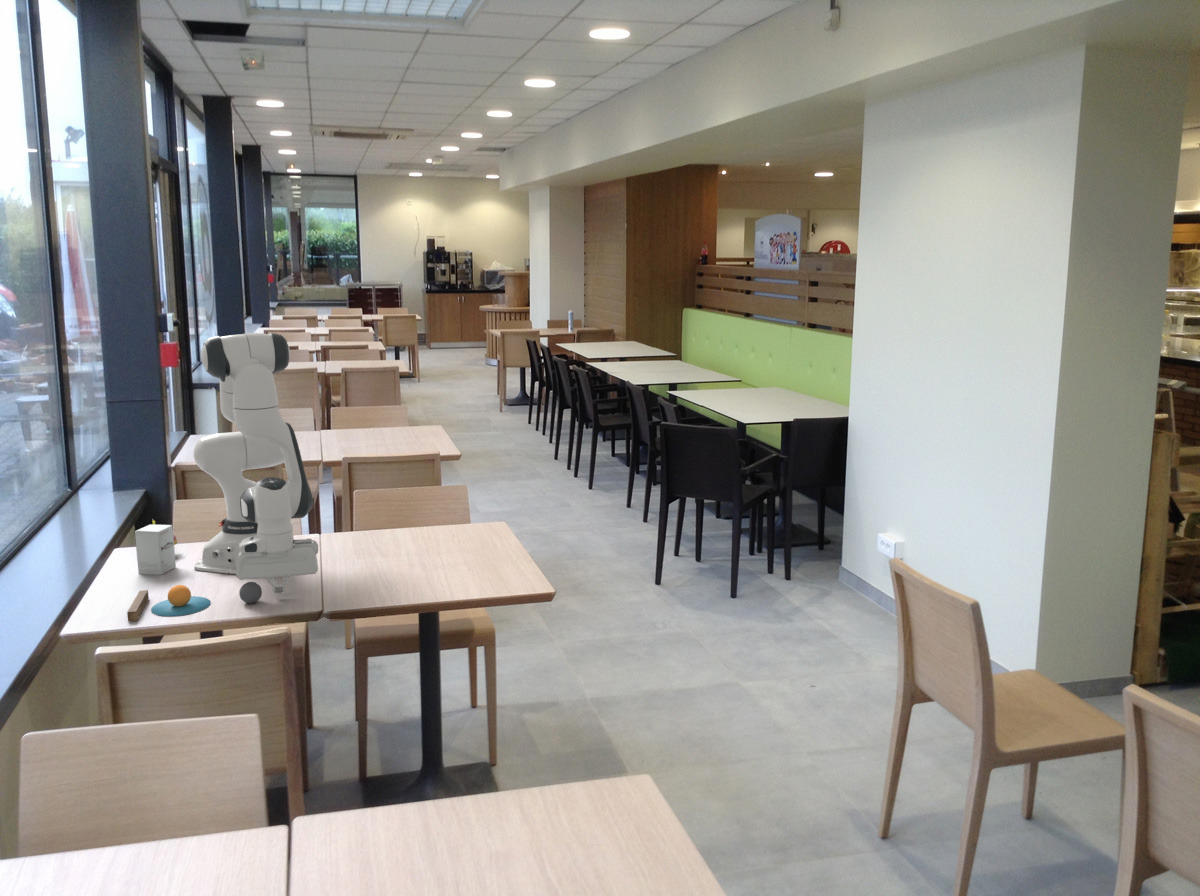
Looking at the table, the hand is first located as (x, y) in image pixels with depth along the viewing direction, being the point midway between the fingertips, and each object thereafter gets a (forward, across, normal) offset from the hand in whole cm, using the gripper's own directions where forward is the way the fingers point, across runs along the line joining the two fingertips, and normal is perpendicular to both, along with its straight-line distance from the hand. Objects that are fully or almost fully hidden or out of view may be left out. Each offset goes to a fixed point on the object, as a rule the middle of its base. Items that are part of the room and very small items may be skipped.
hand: (279, 592), depth 258 cm
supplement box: (+2, +35, -33) cm, 48 cm away
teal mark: (+2, +24, 0) cm, 24 cm away
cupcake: (+2, +36, -47) cm, 59 cm away
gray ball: (-1, +7, +2) cm, 7 cm away
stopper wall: (+2, +34, 0) cm, 34 cm away
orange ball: (-1, +24, 0) cm, 24 cm away
